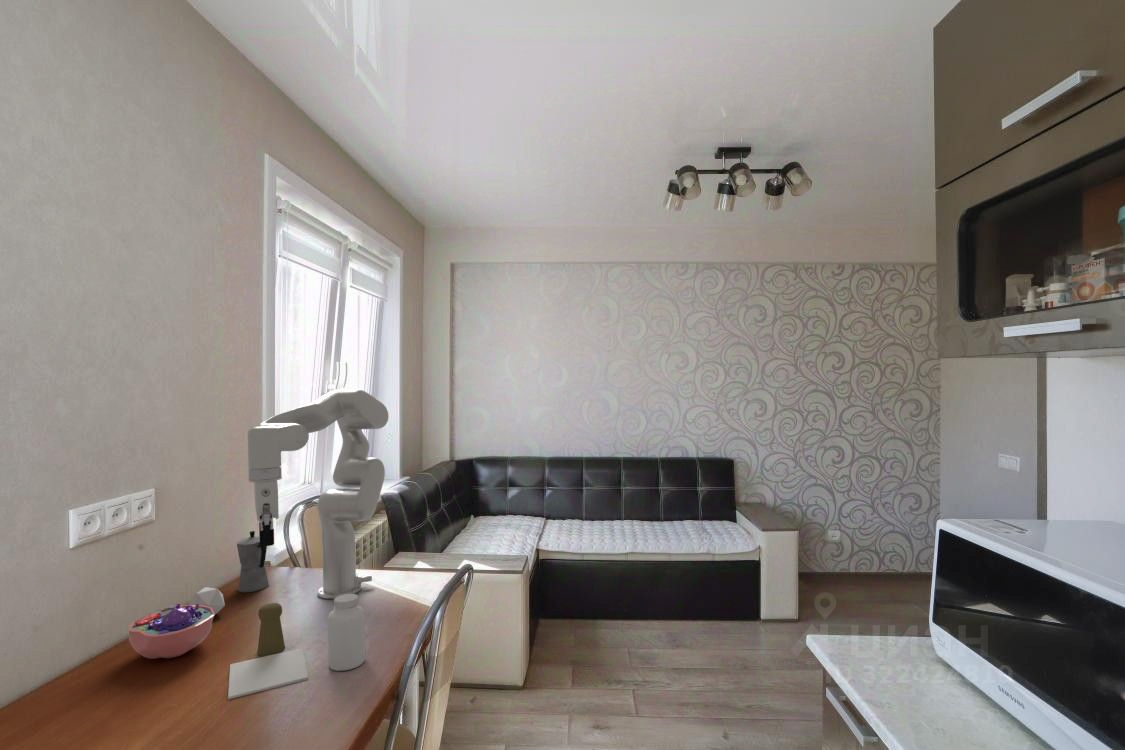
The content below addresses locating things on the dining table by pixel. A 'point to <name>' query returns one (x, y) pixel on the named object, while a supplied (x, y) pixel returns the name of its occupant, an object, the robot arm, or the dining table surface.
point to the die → (209, 599)
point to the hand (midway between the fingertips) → (266, 541)
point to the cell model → (171, 630)
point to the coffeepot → (252, 564)
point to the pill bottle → (346, 633)
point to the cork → (270, 630)
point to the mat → (266, 673)
